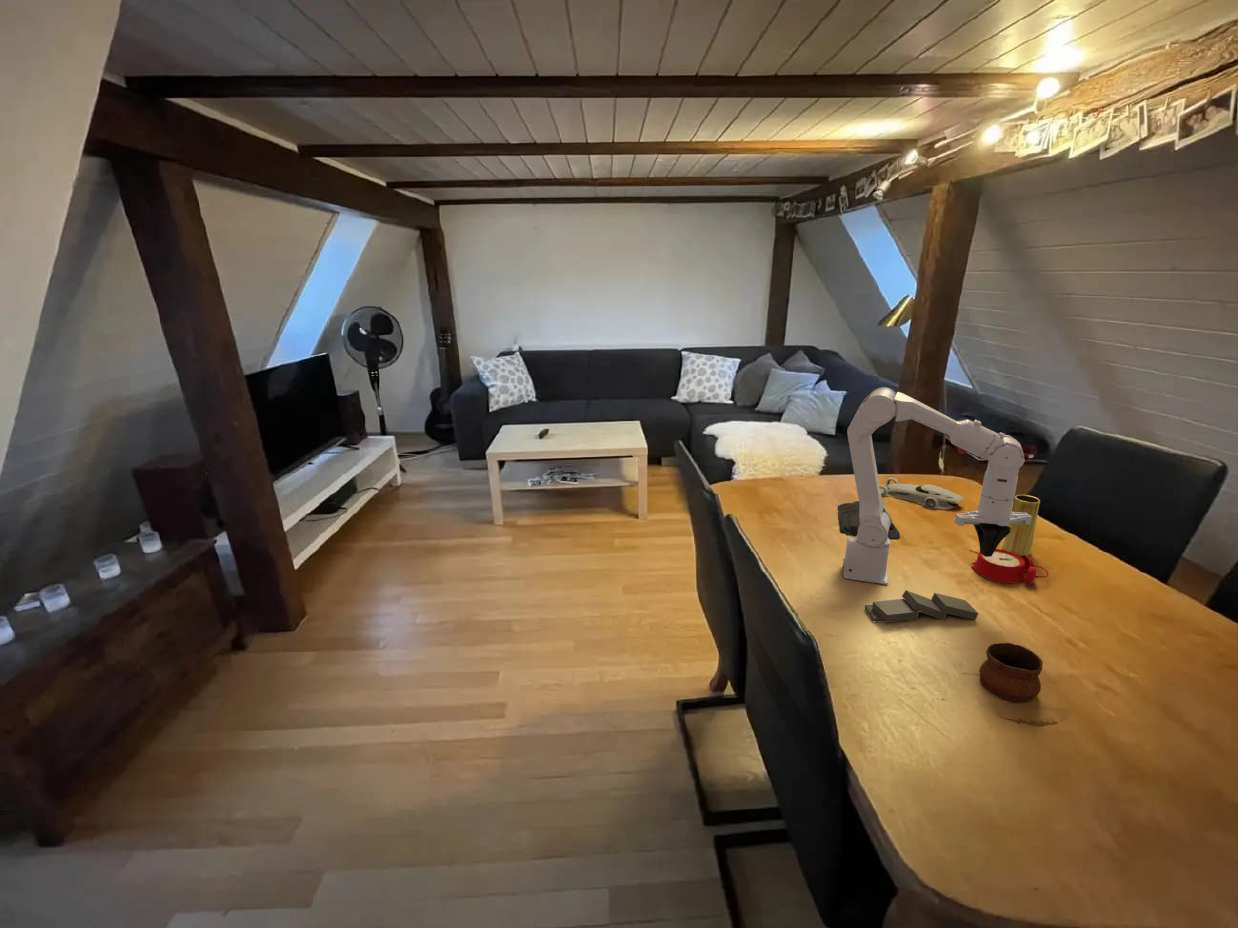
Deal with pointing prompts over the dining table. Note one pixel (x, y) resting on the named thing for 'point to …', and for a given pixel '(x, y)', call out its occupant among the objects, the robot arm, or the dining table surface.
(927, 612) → the domino
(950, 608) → the domino
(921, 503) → the car model
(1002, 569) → the alarm clock
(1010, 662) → the ceramic pot
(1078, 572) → the dining table surface
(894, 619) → the domino
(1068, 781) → the dining table surface
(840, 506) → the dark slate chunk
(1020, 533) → the vase
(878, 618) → the loose domino
